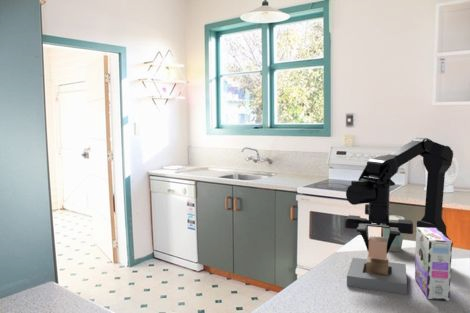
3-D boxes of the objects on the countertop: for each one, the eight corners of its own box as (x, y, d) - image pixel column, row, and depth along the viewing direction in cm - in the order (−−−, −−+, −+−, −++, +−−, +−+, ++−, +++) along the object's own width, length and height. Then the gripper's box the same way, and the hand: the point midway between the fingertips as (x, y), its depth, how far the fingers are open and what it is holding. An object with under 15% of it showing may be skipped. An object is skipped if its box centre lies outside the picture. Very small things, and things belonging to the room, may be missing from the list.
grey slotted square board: (405, 273, 122) (405, 263, 121) (406, 294, 107) (406, 284, 107) (352, 266, 128) (352, 257, 128) (346, 285, 113) (346, 275, 113)
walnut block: (388, 273, 119) (388, 257, 119) (387, 281, 114) (388, 264, 113) (367, 270, 121) (367, 255, 121) (366, 278, 116) (366, 262, 115)
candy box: (450, 301, 103) (453, 241, 101) (426, 299, 104) (428, 240, 102) (434, 280, 116) (436, 226, 115) (413, 279, 117) (415, 226, 116)
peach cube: (386, 253, 118) (387, 237, 118) (386, 259, 114) (386, 242, 113) (369, 251, 120) (369, 235, 120) (368, 257, 115) (368, 240, 115)
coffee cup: (402, 254, 138) (403, 221, 137) (378, 250, 143) (378, 218, 142) (407, 247, 146) (408, 216, 144) (383, 243, 150) (384, 213, 149)
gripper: (412, 197, 119) (410, 247, 120) (349, 194, 126) (348, 240, 128) (413, 205, 109) (412, 259, 110) (345, 201, 116) (344, 251, 117)
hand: (377, 251), depth 117 cm, fingers closed on peach cube, 5 cm apart
